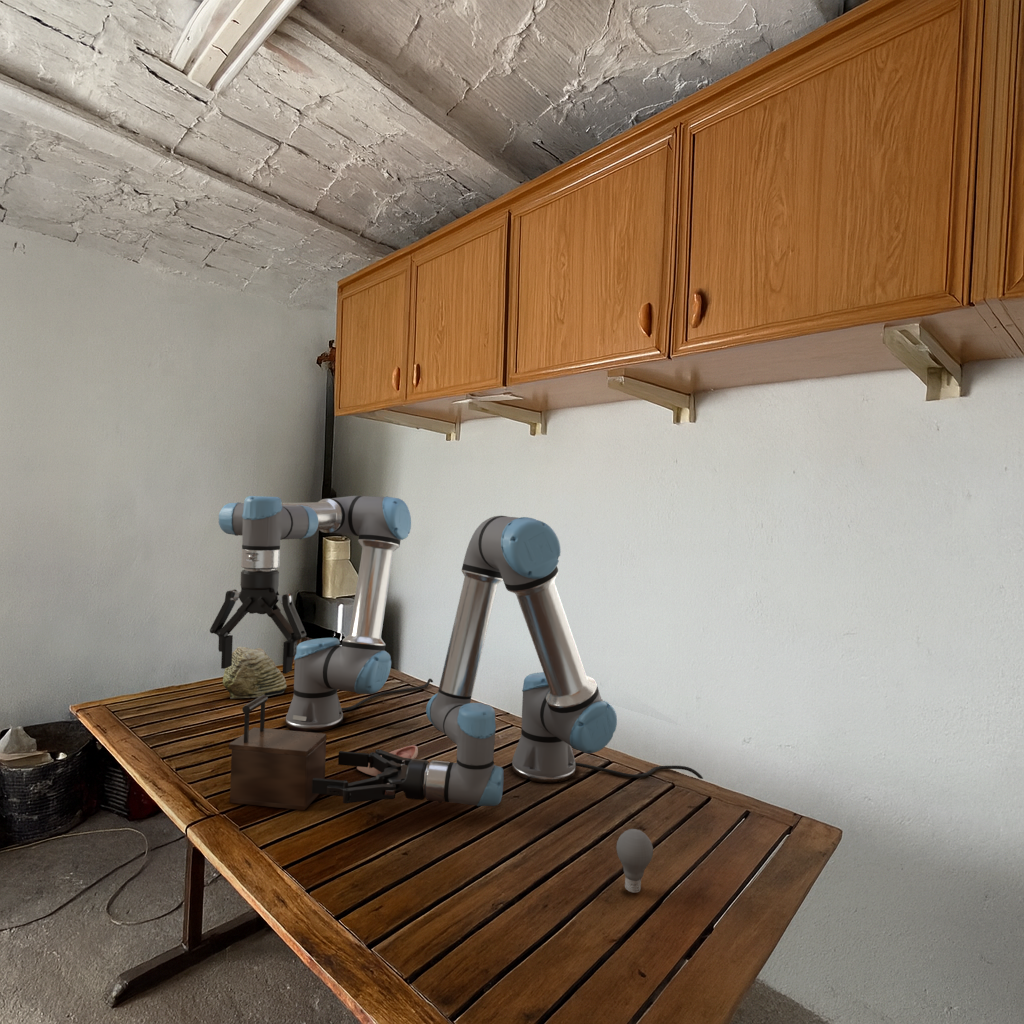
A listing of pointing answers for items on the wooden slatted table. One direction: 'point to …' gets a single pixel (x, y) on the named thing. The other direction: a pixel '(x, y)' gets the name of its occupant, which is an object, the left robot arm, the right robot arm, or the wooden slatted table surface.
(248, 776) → the chest
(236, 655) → the fossil
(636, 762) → the wooden slatted table surface
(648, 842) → the light bulb
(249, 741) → the lid
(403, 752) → the anatomical model
